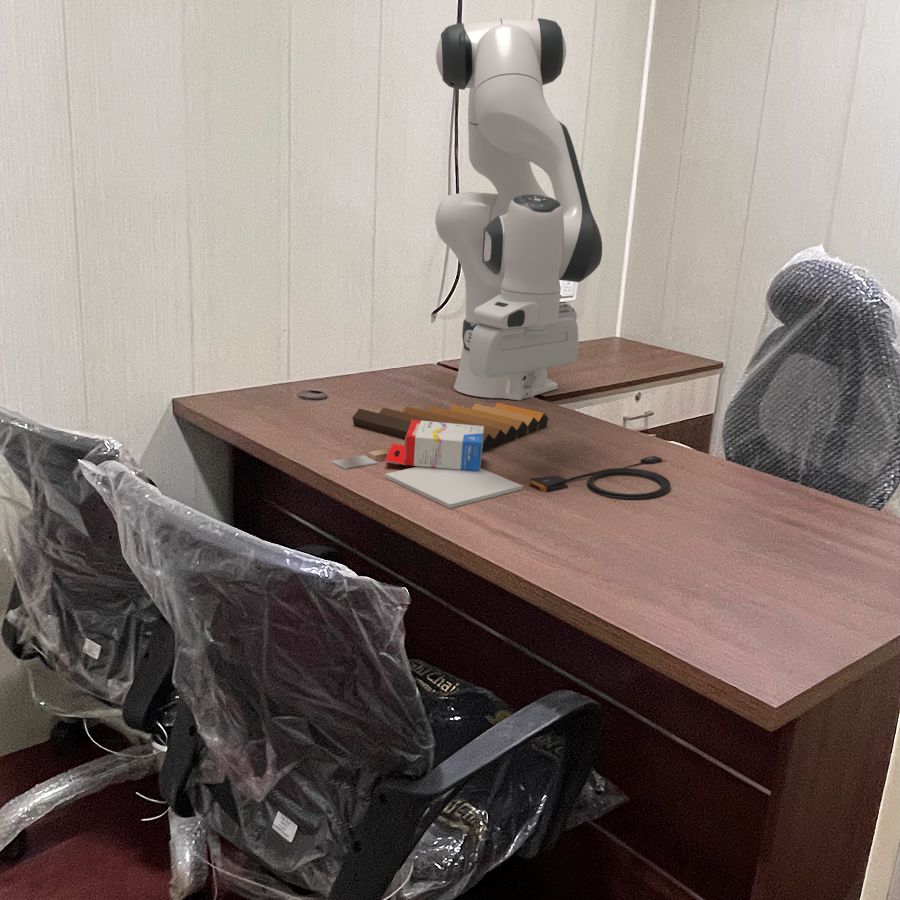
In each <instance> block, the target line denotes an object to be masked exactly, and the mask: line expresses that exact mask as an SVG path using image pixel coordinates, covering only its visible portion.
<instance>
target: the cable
mask: <svg viewBox="0 0 900 900" xmlns="http://www.w3.org/2000/svg"><path fill="white" fill-rule="evenodd" d="M662 462H663V463H664V462H666V458H664V457H662V456H659V455H653V456H646V457H644V458H642V459H640V461H639V462H638V463H635V464H631V465H630V464H629V465H627V466H625V467H616V468H615V467H614V468H607V469H602V470H598V471H594V472H588V473H585V474H580V475H576V476H573V477H572V476H571V477H569V478H565V477H563V476H559V475H549V476H541V477H530V479H529V487H533V488H536V489H538V490H540V492H545V493H550V492H554V491H559V490H563V489H567V488H568V487H569V486H568V484H567V482H570V481H574V480H579V479H582V478H586V477H588V478H587V482H586V487H587V488H588V490H590V492H592V493H594V494H596V495H598V496H602V497H605V498H609V499H614V500H624V501H625V500H628V501H633V500H634V501H635V500H638V501H639V500H645V499H647V500H648V499H653V498H657V497H660V496H663V495H664V494H666V493H667V492H668V491H669V490H670V488H671V486H672V485H671V482H670V480H669V479H668V478H667V477H666V476H664V475H662V474H659V473H657V472H654V471H650V470H646V469H640V468H633V467H637V466H642V465H645V466H646V465H655V464H659V463H660V464H661V463H662ZM615 476H616V477H617V476H618V477H619V476H620V477H621V476H624V477H625V476H629V477H635V478H643V479H647V480H649V481H652V482H654V483H656V484H658V485H659V486H660V487H659V489H657V490H654V491H649V492H643V493H623V492H622V493H621V492H615V491H609V490H605V489H603V488H600V487H599V486H596V484H595V482H596V481H597V480H600V479H603V478H606V477H607V478H608V477H615Z"/></svg>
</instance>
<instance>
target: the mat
mask: <svg viewBox="0 0 900 900" xmlns="http://www.w3.org/2000/svg"><path fill="white" fill-rule="evenodd" d="M384 478H385V479H387V480H389V481H391V482H393V483H395V484H398V485H400V486H402V487H404V488H406V489H407V490H410V491H412V492H414V493H416V494H418V495H421V496H423V497H425V498H427V499H429V500H431V501H433V502H435V503H436V504H437V503H438V504H440V505H442V506H443V507H446V508H448V509H453V508H457V507H461V506H464V505H465V506H466V505H468V504H469V505H470V504H472V503H476V502H480V501H484V500H487V499H492V498H495V497H498V496H502V495H505V494H506V495H507V494H511V493H514V492H517V491H522V490H523V484H519V483H518V482H515V481H513V480H510V479H508V478H506V477H503V476H500V475H497V474H496V473H494V472H491V471H488V470H486V469H484V468H481V467H480V471H468V470H456V469H445V468H434V467H421V466H413V467H409V468H404V469H402V470H396V471H392V472H386V473H384Z"/></svg>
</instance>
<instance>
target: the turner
mask: <svg viewBox="0 0 900 900" xmlns="http://www.w3.org/2000/svg"><path fill="white" fill-rule="evenodd" d="M389 449H390V447H389V448H383V449H377V450H373V451H368V452H367V455H365V454H364V455H359V456H358V455H357V456H351V457H346V458H342V459H341V458H340V459H336V460H335V459H334V460H331V461H330V462H331V464H333V465H335V466H336V465H337V467H338V468H340V469H342V470H344V471H347V470H352V469H358V468H364V467H369V466H374V465H379V462H383V461H385V460H386V457H387V454H388V452H389ZM394 454H395V455H394V456H396V457H398V456H399V454H400V452H399V451H396V452H395V453H394Z"/></svg>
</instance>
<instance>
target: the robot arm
mask: <svg viewBox="0 0 900 900" xmlns="http://www.w3.org/2000/svg"><path fill="white" fill-rule="evenodd" d="M435 56H436V57H435V59H436V60H435V61H436V66H437V69H438V72H439V74H440V76H441V78H442V82H443V83H444V84H445V85H446V86H448V87H450V88H453V89H455V90H465V89H466V88H467V89H469V94H468V105H467V107H468V108H467V113H468V115H467V123H468V124H467V127H468V129H467V130H468V159H469V161H470V163H471V166H472V167H473V170H475V171H476V172H477V173H478V174H480V175H481V176H483V177H484V178H486V179H487V180H489V182H491V183H492V185H493V186H494V189H495V190H496V192H497V193H487V192H476V191H475V192H473V191H467V192H461V193H460V192H458V193H453V194H449V195H446V196H445V197H444V198H443V199H442V201H441V202H440V203H439V205H438V206H437V209H436V213H435V217H434V219H435V220H434V222H435V223H434V224H435V228H436V232H437V234H438V236H439V238H440V240H442V242H443V243H444V244H445V245H446V246H448V248H449V249H450V250H451V251H452V252H453V254H454V255H455V257H456V258H457V260H458V262H459V264H460V267H461V269H462V271H463V272H462V273H463V276H464V277H463V278H464V281H465V318H464V319H463V320H462V321H463V322H462V334H461V337H462V343H463V345H462V348H461V349H462V350H461V356H460V361H459V365H458V371H457V376H456V379H455V381H454V384H453V389H454V390H455V391H457V392H458V393H461V394H464V395H469V396H473V397H479V398H487V399H506V400H507V399H508V400H516V401H523V400H527V399H528V400H529V399H532V398H534V397H535V396H537V395H540V394H544V393H547V392H550V391H555V390H557V389H558V383H557V382H556V381H554V380H551V379H550V378H548V369H549V368H555V367H560V366H566V365H572V364H574V363H575V362H576V360H577V359H578V355H579V327H578V323H577V315H578V314H577V311H576V309H575V308H574V307H573V306H572V305H571V304H568V303H567V304H566V303H565V304H562V305H560V304H561V303H560V302H561V292H562V291H561V282H560V281H565V282H572V283H573V282H574V283H580V282H582V281H584V280H586V279H587V278H588V277H589V276H590V275H592V274H593V273H594V272H595V271H596V269H597V268H598V267H599V266H600V264H601V262H602V256H603V241H602V234H601V231H600V229H599V226H598V223H597V221H596V219H595V217H594V215H593V213H592V209H591V206H590V203H589V198H588V195H587V191H586V188H585V184H584V183H585V182H584V179H583V176H582V171H581V170H580V164H579V160H578V158H577V154H576V150H575V146H574V144H573V140H572V138H571V135H570V133H569V129H568V127H567V126H566V125H565V124H564V123H562V122H561V121H559V120H558V119H557V118H556V117H555V116H554V114H553V113H552V111H551V110H550V107H549V106H548V104H547V102H546V99H545V96H544V86H545V85H548V84H551V83H553V82H555V80H556V79H558V77H559V76H560V75H562V70H563V67H564V65H565V61H566V58H567V57H566V56H567V45H566V41H565V37H564V35H563V31H562V27H561V26H560V25H559V24H558V22H557V21H554V20H551V19H548V18H547V19H546V18H541V17H538V18H537V19H529V18H517V17H515V18H513V17H512V18H511V17H509V18H504V17H503V18H502V17H501V18H499V19H494V20H482V21H476V22H470V23H466V24H464V23H463V22H459V23H454V24H451V25H448V26H446V27H445V28H444V29H443V31H442V32H441V33H440V39H439V40H438V43H437V46H436V53H435ZM531 163H532V164H534V165H536V166H537V167H538V168H540V169H542V171H544V172H545V173H546V174H547V176H548V178H549V180H550V182H551V186H552V187H551V188H552V191H553V195H554V198H552V197H549V196H548V194H547V193H546V192H545V191H544V190H543V188H542V187H541V186H540V183H538V181H537V179H536V176H535V175H534V171H533V169H532V165H531Z"/></svg>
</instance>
